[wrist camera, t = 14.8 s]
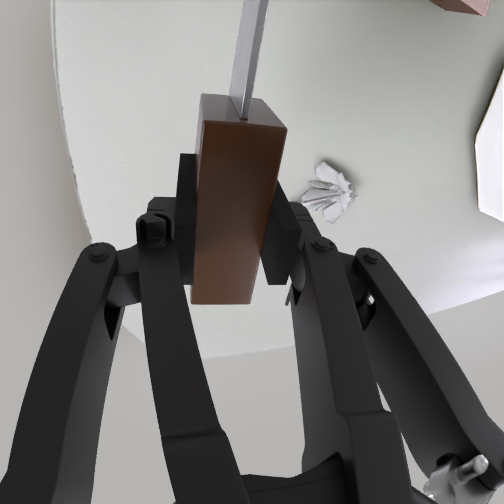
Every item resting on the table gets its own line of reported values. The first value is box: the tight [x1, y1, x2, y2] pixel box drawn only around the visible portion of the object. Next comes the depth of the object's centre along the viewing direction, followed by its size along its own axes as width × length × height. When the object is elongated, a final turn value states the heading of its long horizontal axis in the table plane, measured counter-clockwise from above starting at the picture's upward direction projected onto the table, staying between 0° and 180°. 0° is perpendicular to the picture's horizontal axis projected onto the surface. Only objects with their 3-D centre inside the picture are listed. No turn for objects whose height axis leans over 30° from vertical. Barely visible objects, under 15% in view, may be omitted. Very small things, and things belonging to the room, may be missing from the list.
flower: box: [296, 161, 357, 224], centre depth 32 cm, size 8×8×3 cm
